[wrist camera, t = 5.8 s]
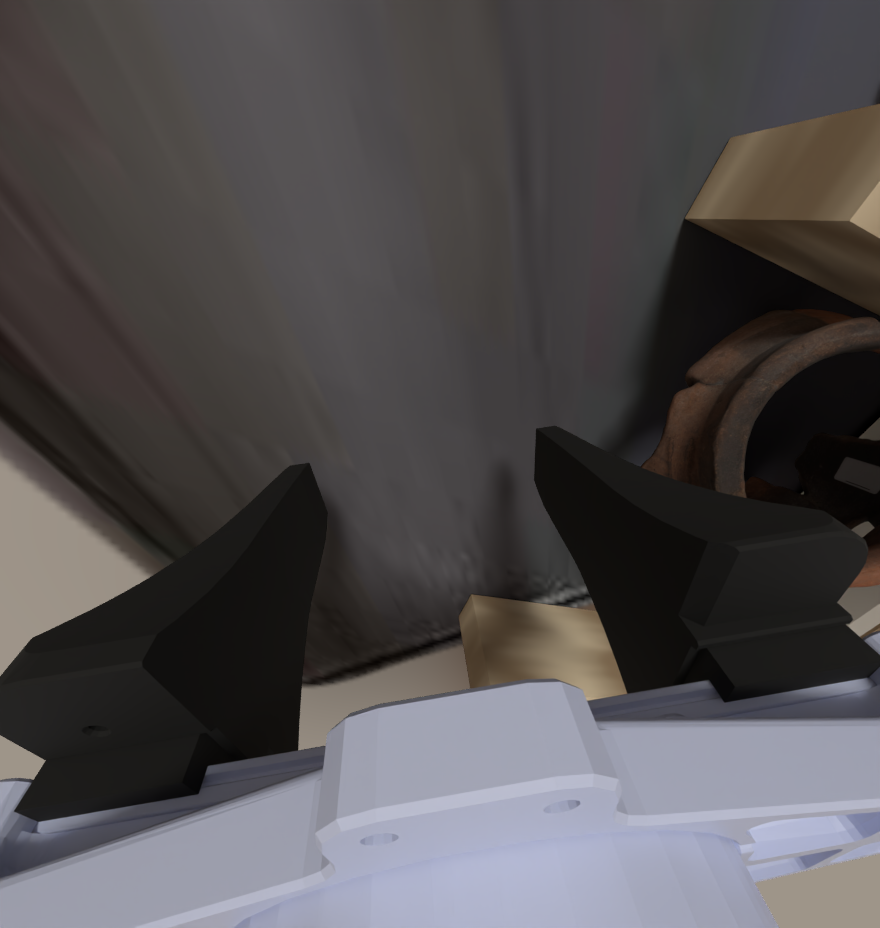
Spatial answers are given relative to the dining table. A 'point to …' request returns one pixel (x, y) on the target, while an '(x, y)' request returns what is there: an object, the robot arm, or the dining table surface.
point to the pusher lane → (772, 237)
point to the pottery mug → (741, 401)
